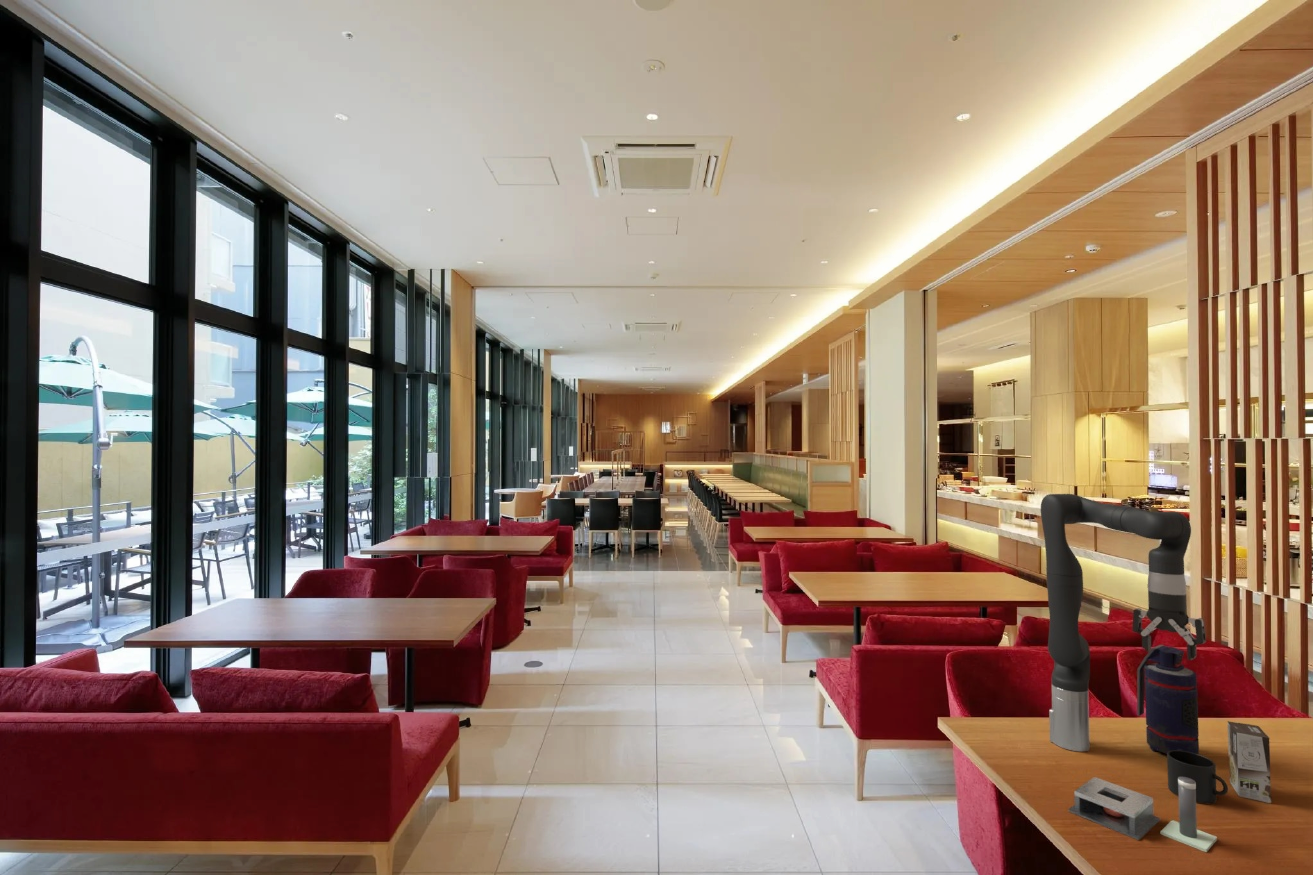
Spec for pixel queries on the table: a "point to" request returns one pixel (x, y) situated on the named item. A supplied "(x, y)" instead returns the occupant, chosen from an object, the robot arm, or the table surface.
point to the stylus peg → (1187, 807)
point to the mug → (1194, 775)
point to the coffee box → (1249, 761)
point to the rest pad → (1201, 842)
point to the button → (1112, 812)
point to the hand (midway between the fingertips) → (1168, 655)
